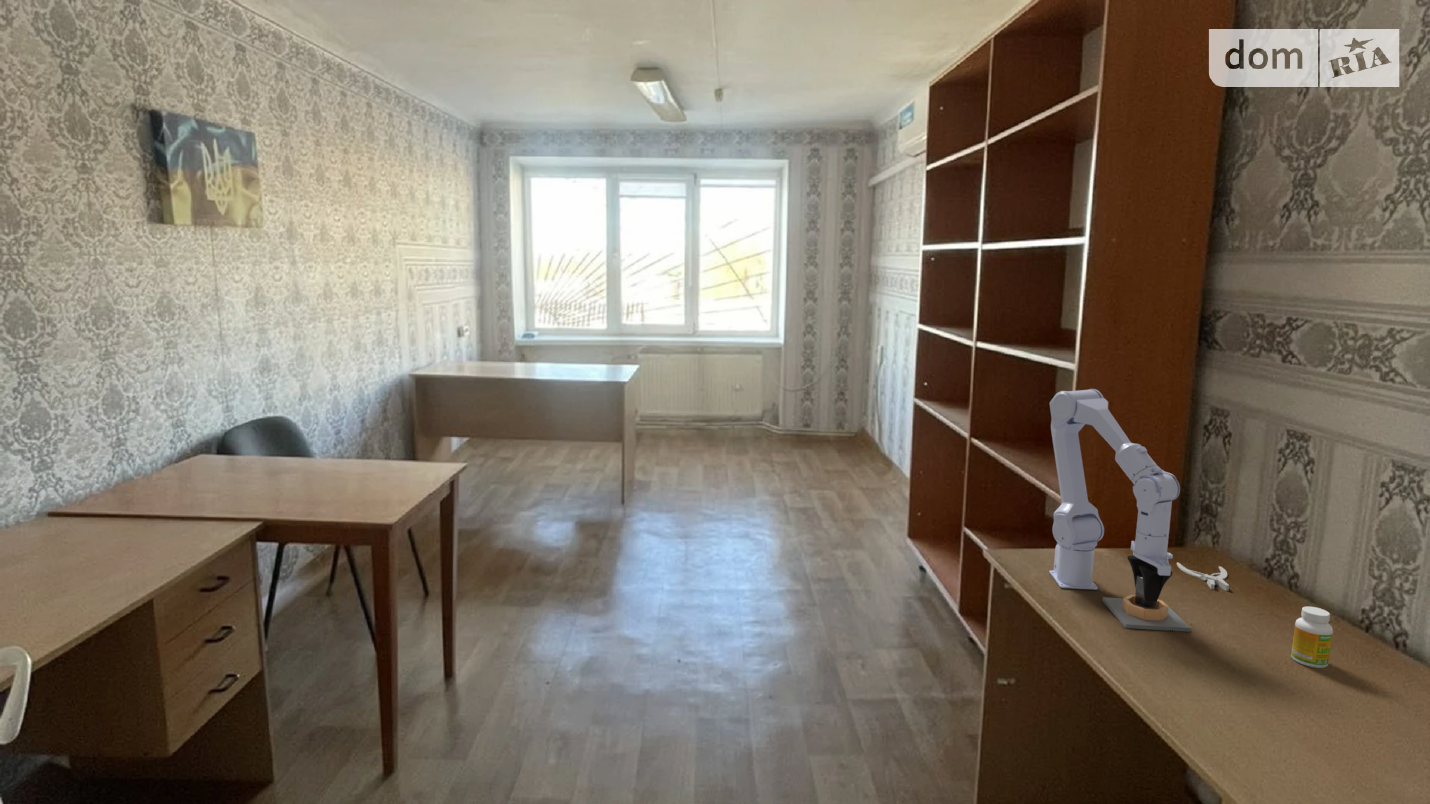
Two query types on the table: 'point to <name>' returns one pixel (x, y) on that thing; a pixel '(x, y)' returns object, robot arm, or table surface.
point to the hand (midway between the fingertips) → (1146, 595)
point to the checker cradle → (1145, 615)
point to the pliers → (1209, 577)
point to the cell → (1142, 594)
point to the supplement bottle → (1312, 638)
